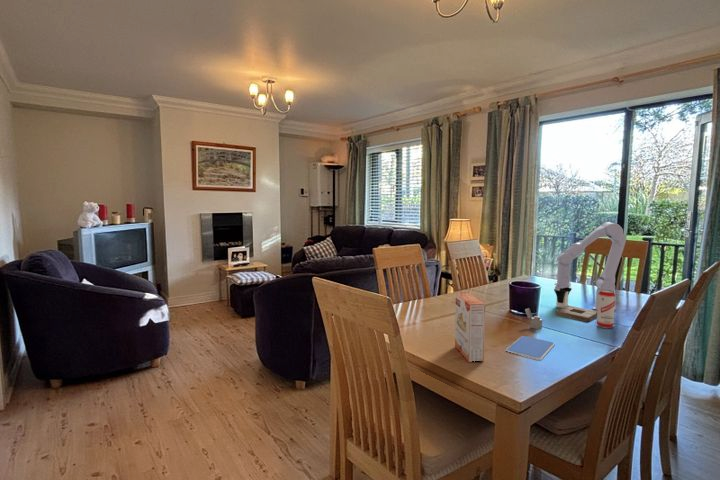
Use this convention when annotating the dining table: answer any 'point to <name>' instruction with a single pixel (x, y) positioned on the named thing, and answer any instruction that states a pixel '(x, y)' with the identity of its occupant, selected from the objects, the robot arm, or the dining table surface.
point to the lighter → (534, 320)
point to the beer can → (606, 308)
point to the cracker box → (470, 327)
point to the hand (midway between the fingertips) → (562, 301)
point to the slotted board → (577, 313)
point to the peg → (565, 301)
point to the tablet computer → (531, 347)
